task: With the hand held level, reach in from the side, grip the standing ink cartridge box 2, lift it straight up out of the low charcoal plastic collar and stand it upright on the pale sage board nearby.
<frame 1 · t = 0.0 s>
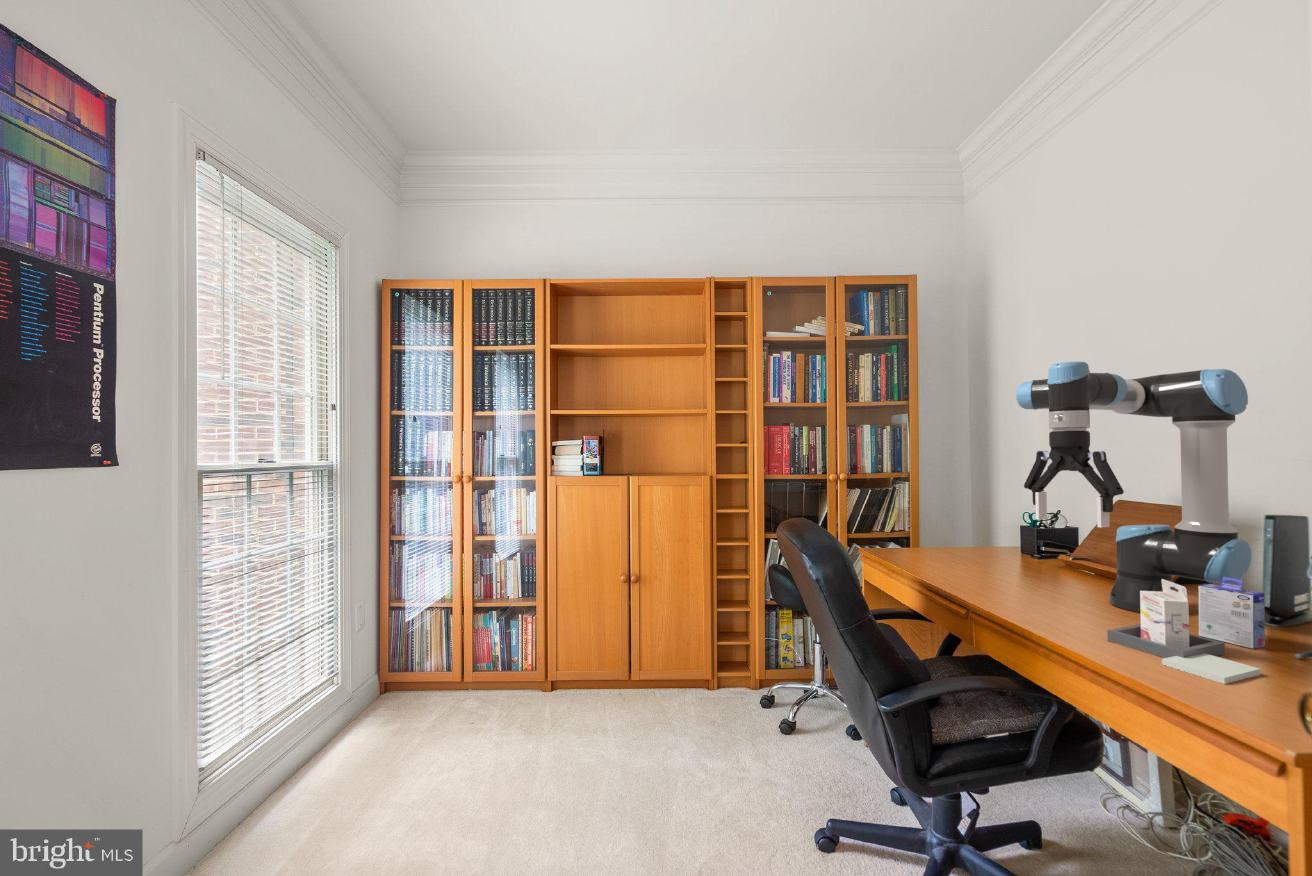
hand: (1070, 523, 126), 28 cm above the table, tool pointing down, fingers open, 13 cm apart
ink cartridge box: (1231, 642, 128), on the table
ink cartridge box 2: (1164, 648, 125), resting in dock
board: (1210, 669, 113), on the table
dock: (1164, 647, 125), on the table
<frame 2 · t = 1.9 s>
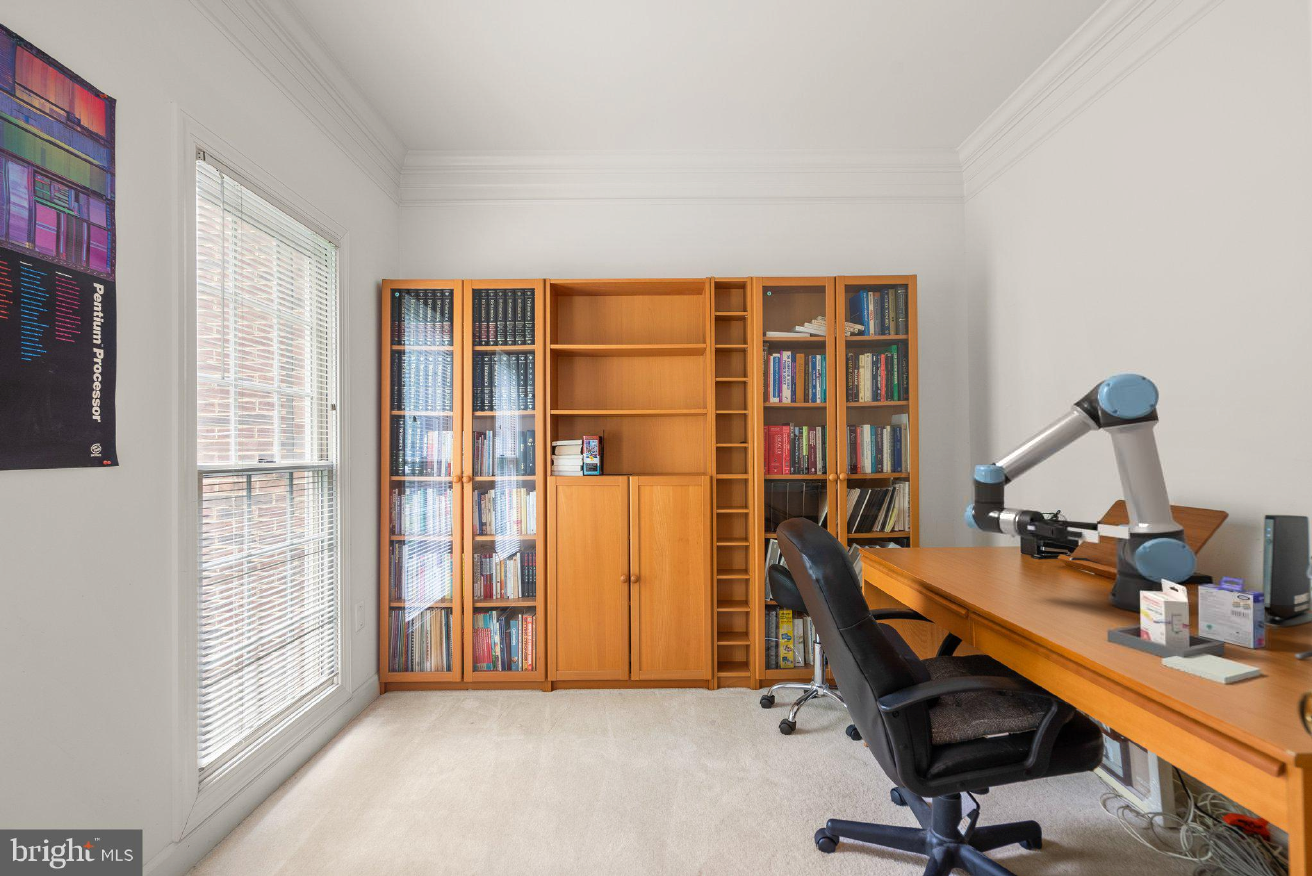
hand: (1114, 535, 134), 24 cm above the table, tool horizontal, fingers open, 13 cm apart
nothing on the table moved.
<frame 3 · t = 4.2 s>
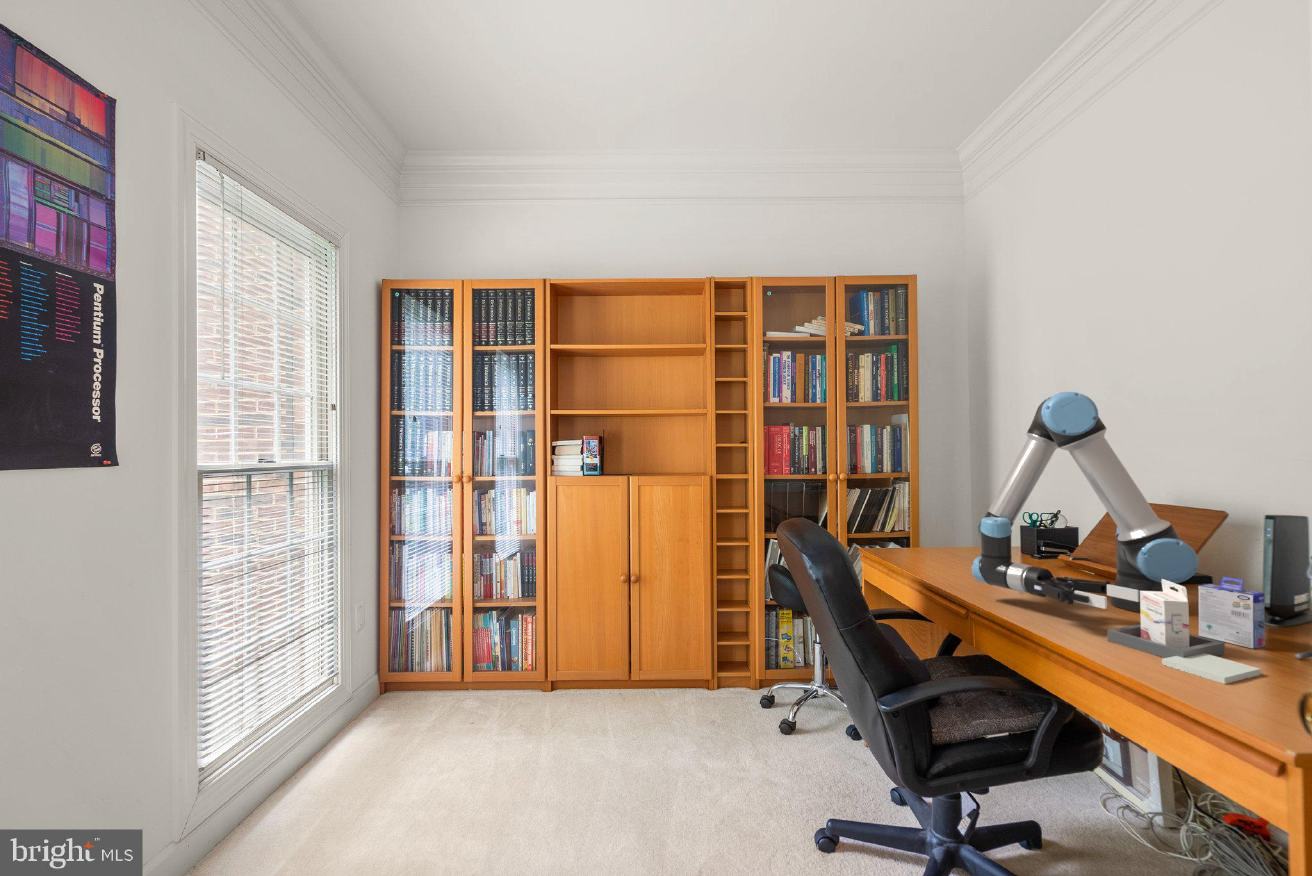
hand: (1122, 599, 132), 9 cm above the table, tool horizontal, fingers open, 13 cm apart
nothing on the table moved.
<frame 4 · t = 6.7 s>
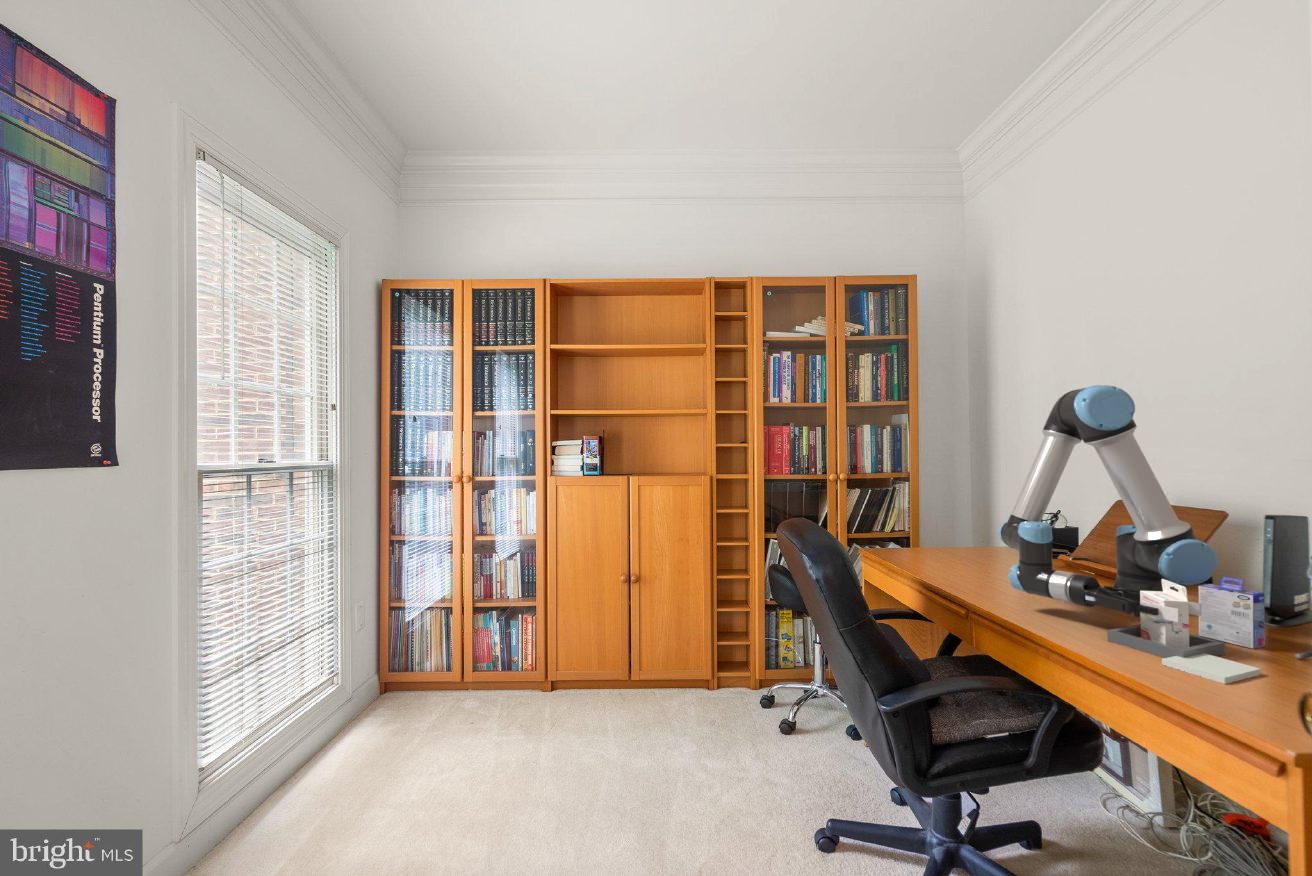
hand: (1189, 612, 121), 9 cm above the table, tool horizontal, fingers closed on ink cartridge box 2, 9 cm apart
ink cartridge box 2: (1164, 648, 125), resting in dock, touching gripper
everything else where it was.
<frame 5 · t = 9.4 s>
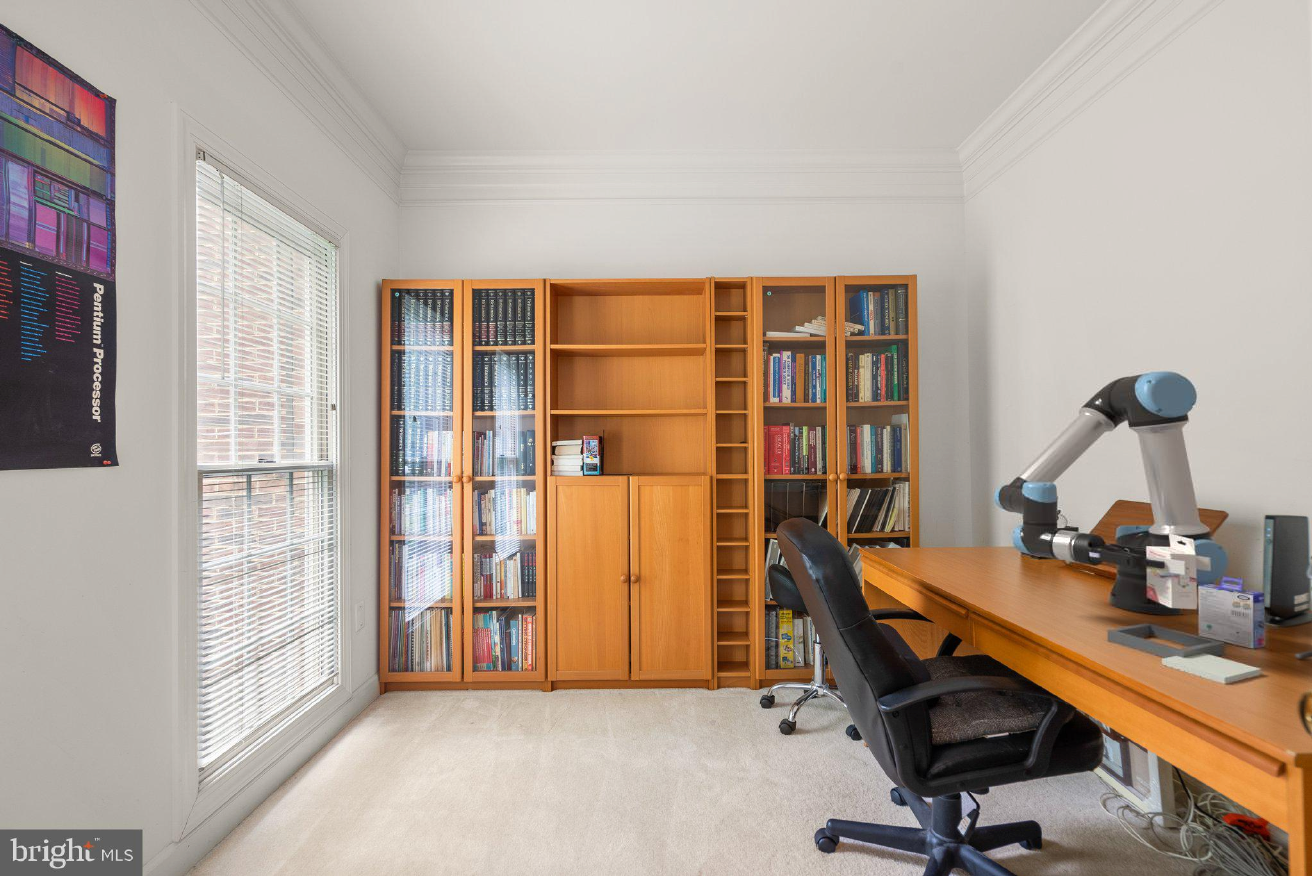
hand: (1197, 566, 117), 20 cm above the table, tool horizontal, fingers closed on ink cartridge box 2, 9 cm apart
ink cartridge box 2: (1170, 604, 121), point 11 cm above the table, touching gripper
everything else where it was.
when the fingers open (12 cm above the table, at t = 12.0 s): ink cartridge box 2 stays where it is, resting on board, dock.
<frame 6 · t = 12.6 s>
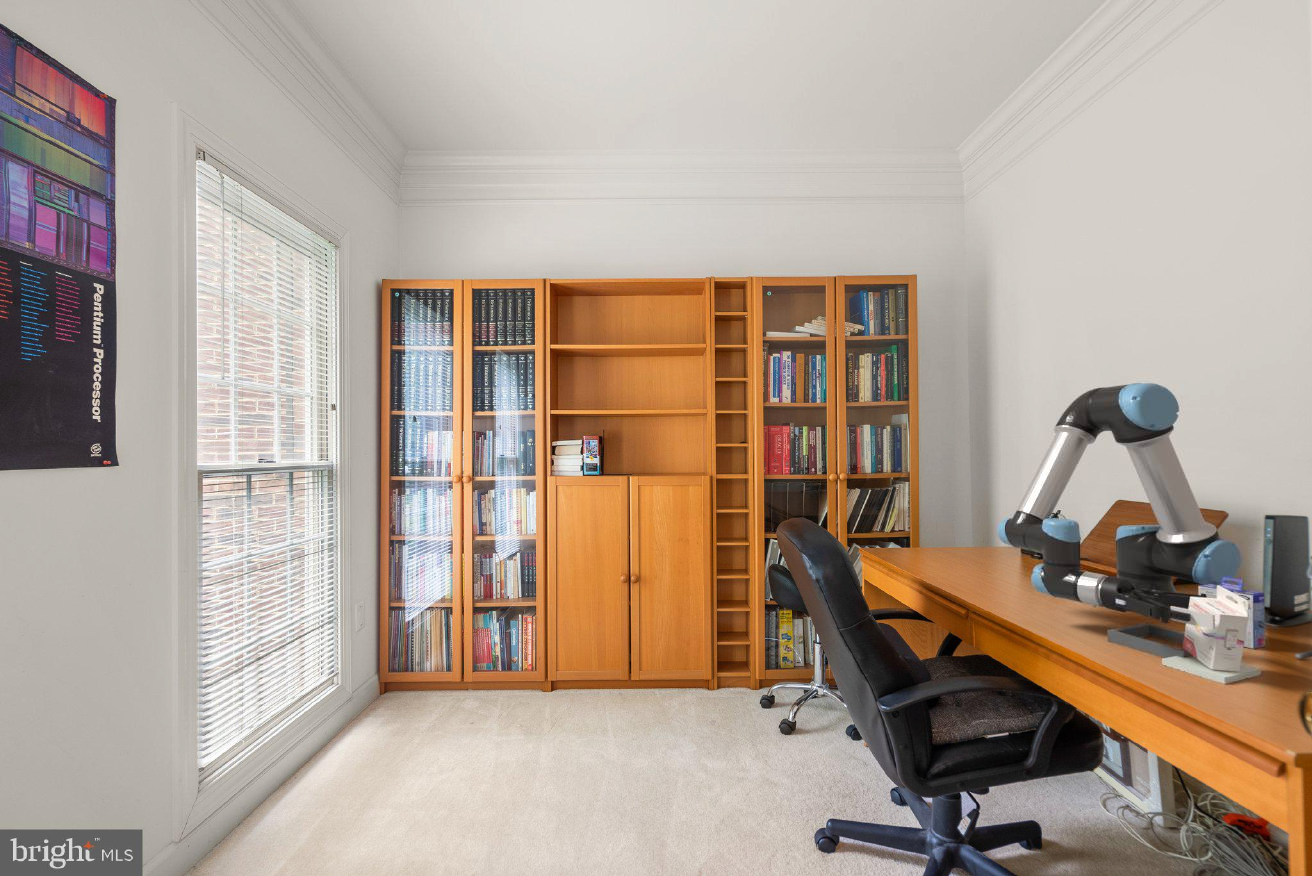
hand: (1231, 617, 110), 11 cm above the table, tool horizontal, fingers open, 13 cm apart
ink cartridge box 2: (1209, 660, 113), point 2 cm above the table, touching board, dock
everything else where it was.
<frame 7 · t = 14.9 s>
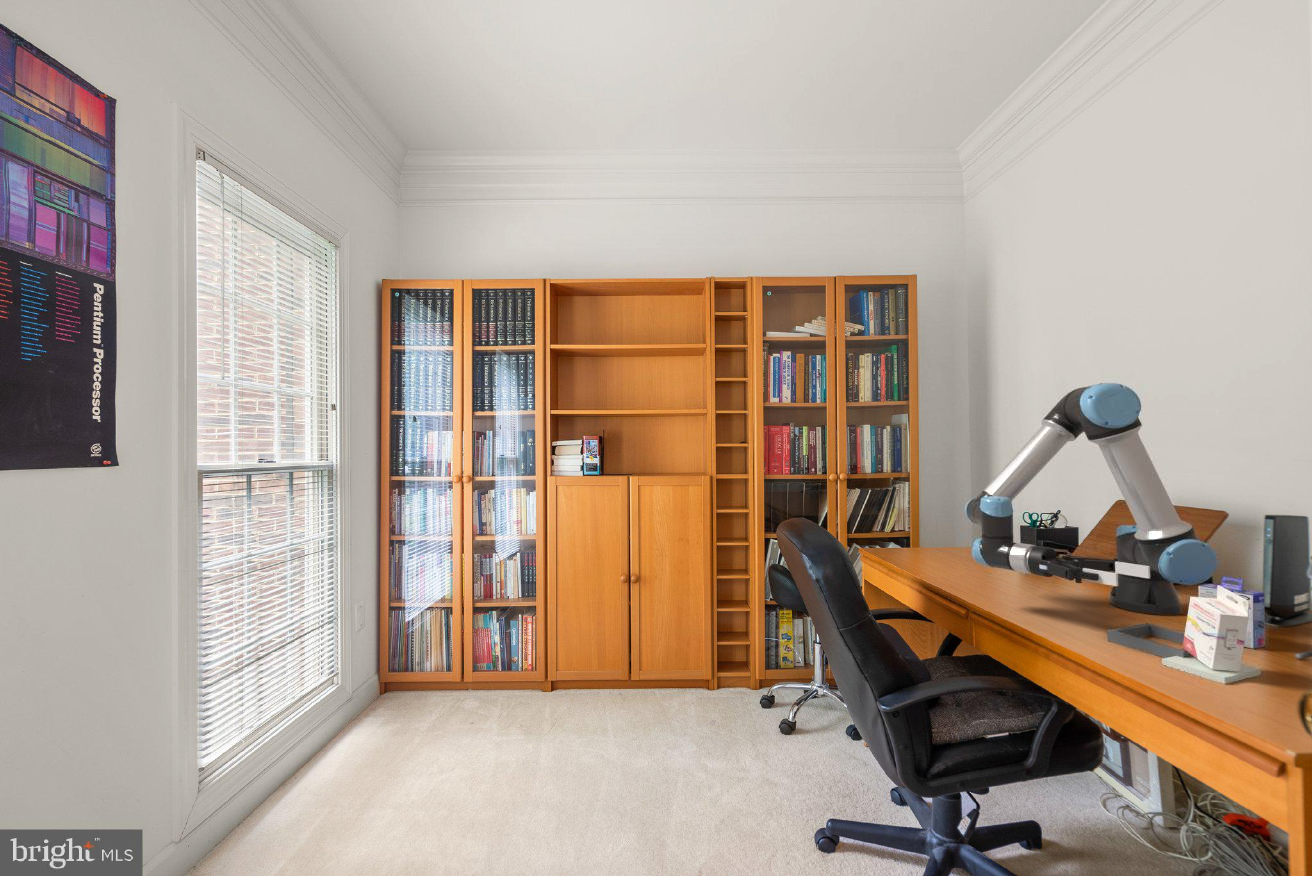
hand: (1133, 576, 125), 16 cm above the table, tool horizontal, fingers open, 13 cm apart
nothing on the table moved.
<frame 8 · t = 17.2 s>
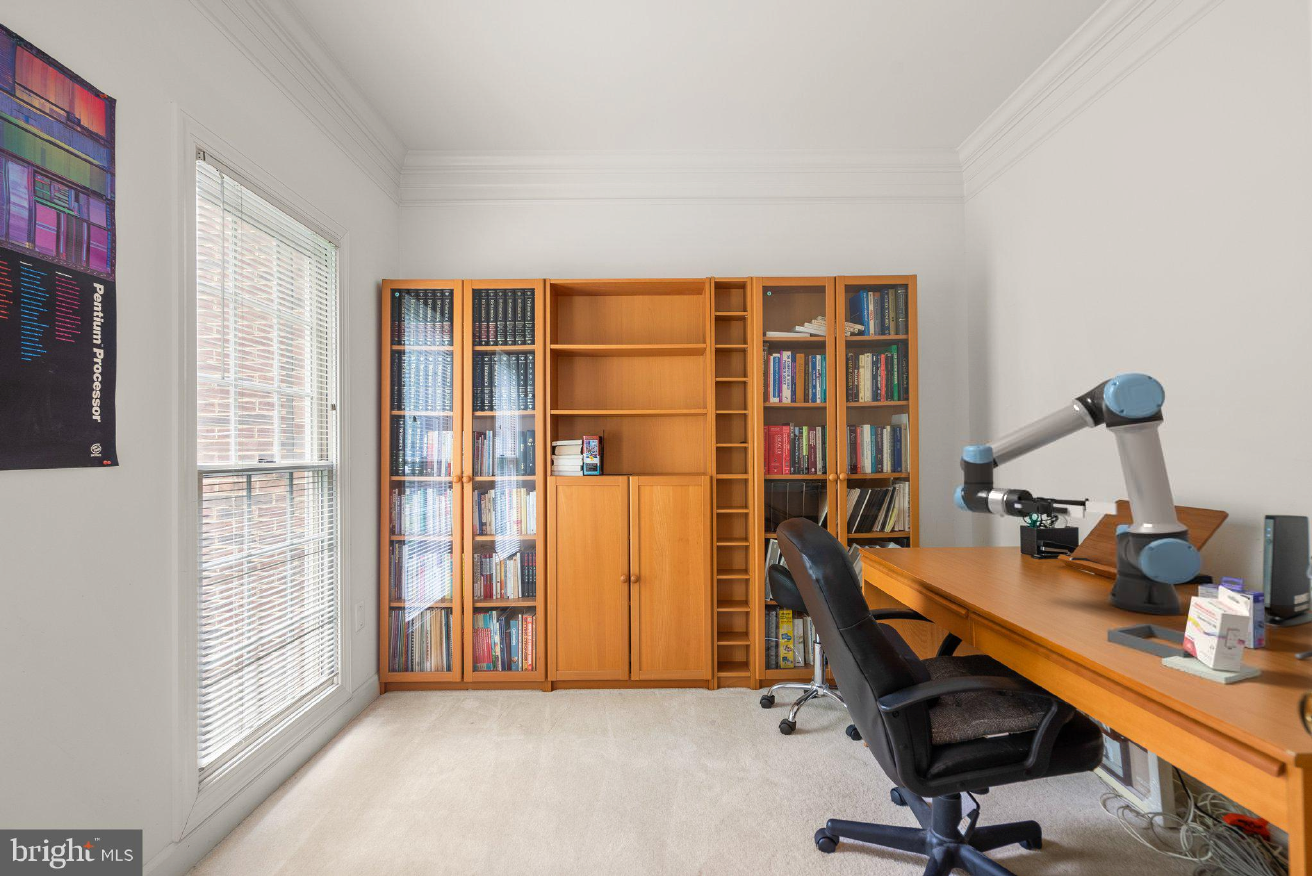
hand: (1100, 510, 133), 30 cm above the table, tool horizontal, fingers open, 13 cm apart
nothing on the table moved.
at the end: ink cartridge box 2 inside the target area (0.1 cm from its centre), point 1.7 cm above the table; ink cartridge box 2 tilted 9°; the gripper is holding nothing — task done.
